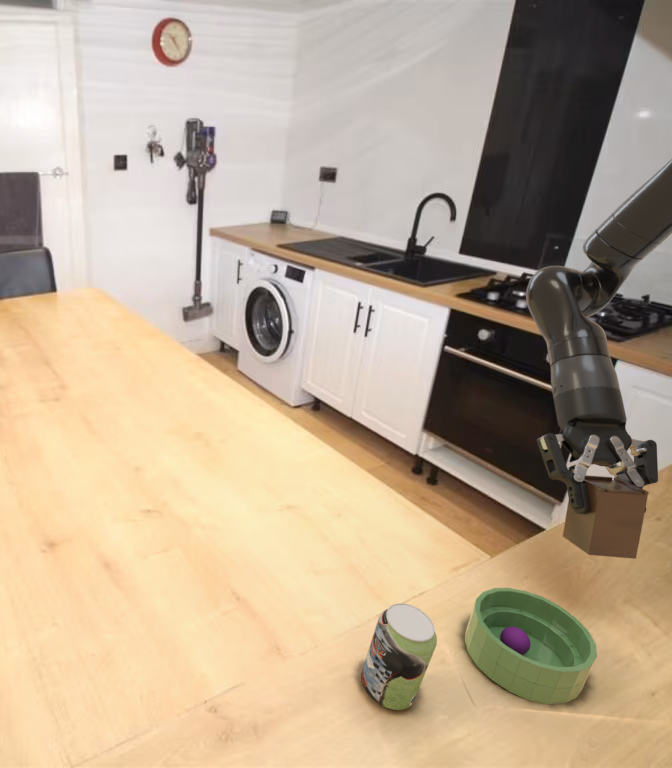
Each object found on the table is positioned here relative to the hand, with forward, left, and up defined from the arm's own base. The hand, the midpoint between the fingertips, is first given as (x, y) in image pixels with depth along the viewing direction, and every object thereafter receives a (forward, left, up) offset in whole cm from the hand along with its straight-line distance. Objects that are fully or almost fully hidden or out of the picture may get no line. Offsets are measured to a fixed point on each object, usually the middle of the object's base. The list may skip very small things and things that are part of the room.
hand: (609, 514), depth 70 cm
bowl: (+14, +9, -15) cm, 22 cm away
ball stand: (0, 0, -5) cm, 5 cm away
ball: (+14, +8, -13) cm, 21 cm away
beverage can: (+32, +13, -16) cm, 38 cm away
